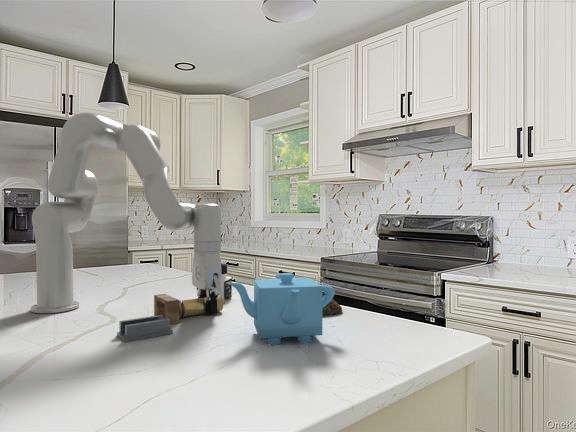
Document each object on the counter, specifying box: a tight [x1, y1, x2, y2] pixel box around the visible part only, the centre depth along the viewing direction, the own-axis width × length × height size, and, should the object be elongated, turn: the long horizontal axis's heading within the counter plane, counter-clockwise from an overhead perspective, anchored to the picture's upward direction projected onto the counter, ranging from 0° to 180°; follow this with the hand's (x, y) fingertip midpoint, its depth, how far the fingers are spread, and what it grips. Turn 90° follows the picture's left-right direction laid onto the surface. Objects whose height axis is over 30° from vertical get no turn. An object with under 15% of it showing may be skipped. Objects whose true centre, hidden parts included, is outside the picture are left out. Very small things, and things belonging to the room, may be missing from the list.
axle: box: [179, 296, 224, 319], centre depth 120 cm, size 14×4×4 cm, turn 127°
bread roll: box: [322, 294, 343, 317], centre depth 124 cm, size 13×12×5 cm
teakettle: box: [227, 272, 336, 346], centre depth 99 cm, size 19×19×15 cm
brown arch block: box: [153, 293, 180, 326], centre depth 114 cm, size 10×3×6 cm, turn 37°
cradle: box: [116, 315, 174, 343], centre depth 101 cm, size 6×11×3 cm, turn 127°
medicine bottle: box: [209, 262, 233, 304], centre depth 139 cm, size 7×7×12 cm
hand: (207, 311), depth 122 cm, fingers closed on axle, 4 cm apart
